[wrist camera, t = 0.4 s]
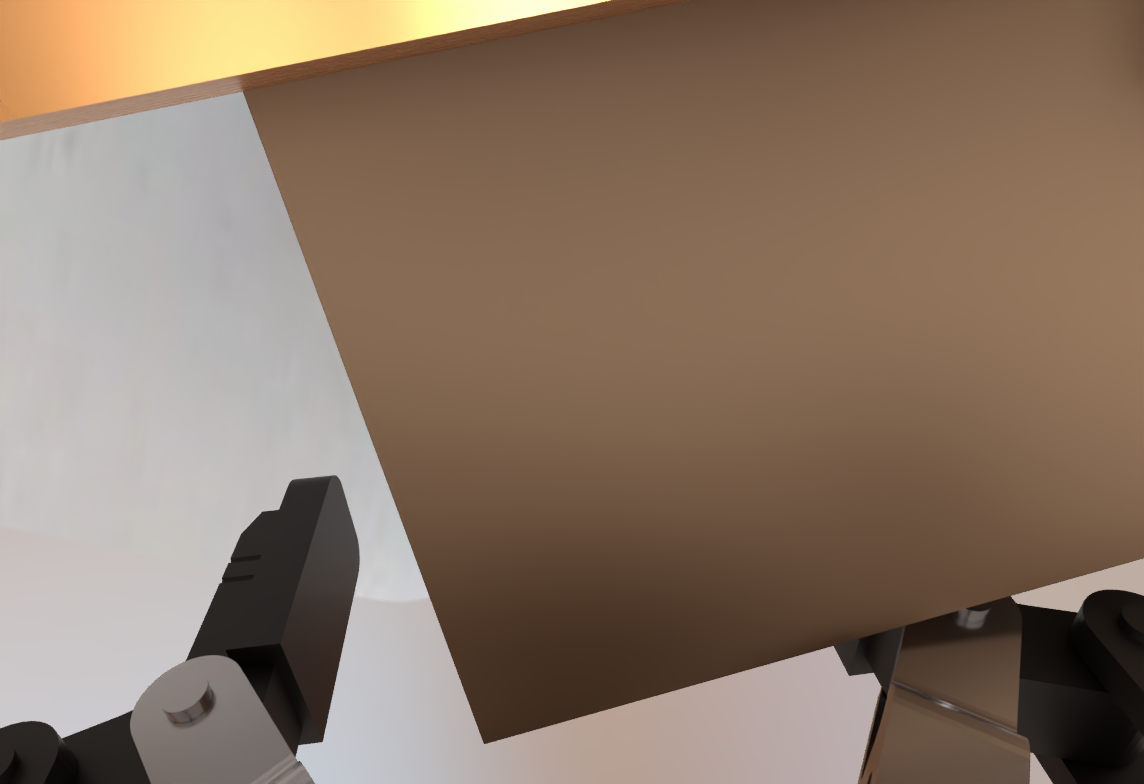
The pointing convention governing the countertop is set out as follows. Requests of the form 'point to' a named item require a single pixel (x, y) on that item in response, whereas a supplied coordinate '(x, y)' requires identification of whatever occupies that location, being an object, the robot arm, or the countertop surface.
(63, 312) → the countertop surface
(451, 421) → the wooden pedestal
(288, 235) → the countertop surface
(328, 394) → the countertop surface
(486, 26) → the wooden handled hammer
